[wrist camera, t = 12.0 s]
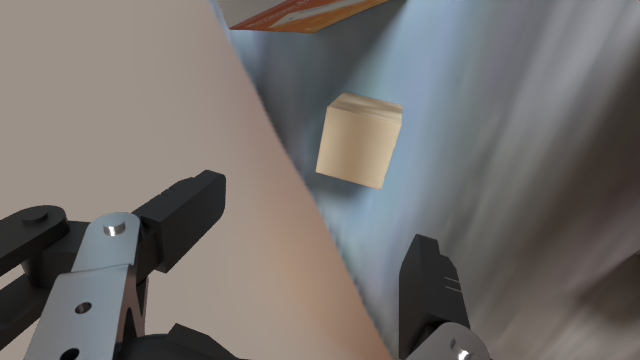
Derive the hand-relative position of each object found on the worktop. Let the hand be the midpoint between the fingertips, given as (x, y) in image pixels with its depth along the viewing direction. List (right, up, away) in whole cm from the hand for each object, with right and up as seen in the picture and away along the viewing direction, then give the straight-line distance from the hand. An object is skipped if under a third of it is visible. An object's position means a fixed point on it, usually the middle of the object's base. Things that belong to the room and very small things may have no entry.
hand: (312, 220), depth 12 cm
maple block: (+4, +6, +14) cm, 16 cm away
